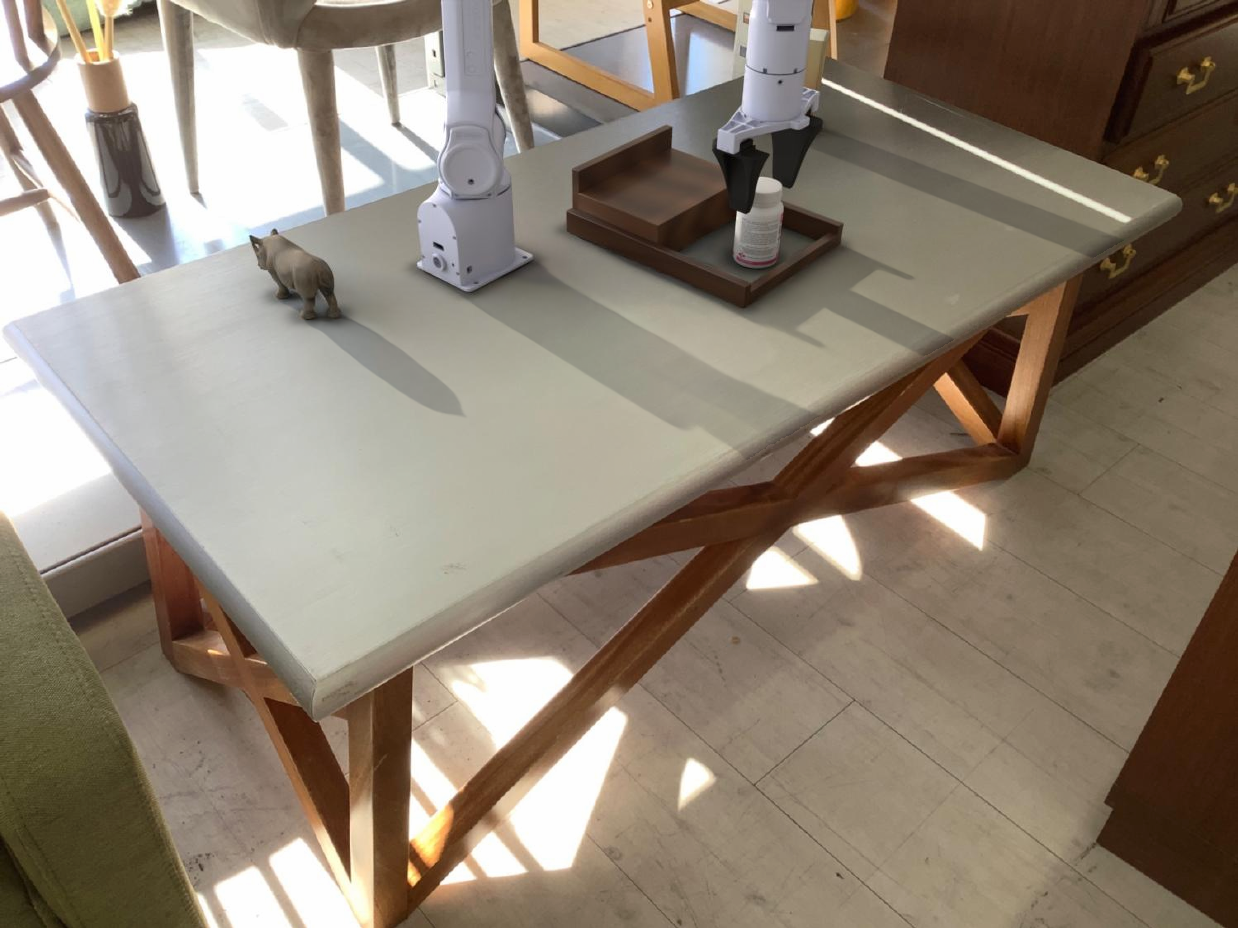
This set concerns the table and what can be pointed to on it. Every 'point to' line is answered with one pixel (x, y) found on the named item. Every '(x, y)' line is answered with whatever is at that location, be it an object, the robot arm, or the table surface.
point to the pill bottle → (760, 227)
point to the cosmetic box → (816, 59)
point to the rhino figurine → (296, 272)
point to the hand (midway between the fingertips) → (761, 197)
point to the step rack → (676, 215)
